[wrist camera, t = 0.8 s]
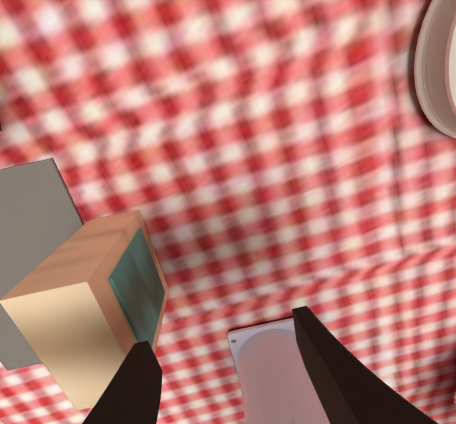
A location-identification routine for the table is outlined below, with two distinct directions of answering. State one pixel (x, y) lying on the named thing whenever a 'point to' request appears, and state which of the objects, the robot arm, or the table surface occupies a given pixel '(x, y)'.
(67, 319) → the marked block
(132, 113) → the table surface
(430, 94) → the lid
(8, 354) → the mat
